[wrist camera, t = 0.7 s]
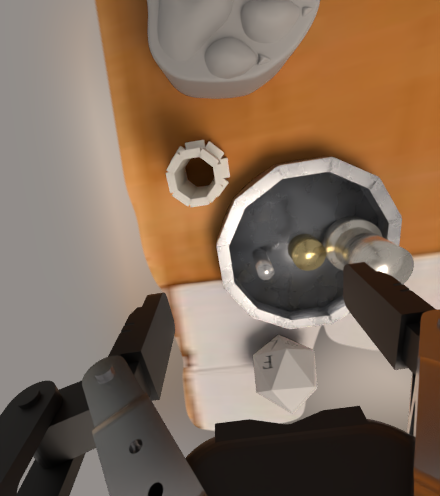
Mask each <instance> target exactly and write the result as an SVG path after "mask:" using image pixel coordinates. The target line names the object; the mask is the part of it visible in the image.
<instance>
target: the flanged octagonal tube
mask: <svg viewBox="0 0 440 496" xmlns="http://www.w3.org/2000/svg"><path fill="white" fill-rule="evenodd" d="M185 146H186V149H185V148H184V147H183V146H180V147H179V149H178V150H177V152H176V154H175V155H174V157H173V158H172V160H171V162H170V165H169V166H168V168H167V171H168V172H167V173H166V177H167V181H168V186H169V190H170V193H173V192H174V193H173V195H172V196H173V197H175V198H176V199H178V200H179V201H181V202H182V203H183V204H185V205H186V206H189V204H190V206H191V207H196V206H202V205H209V204H210V202H211V203H212V202H213V201H214V199H215V198H216V196H217V197H219V195H220V194H221V193H222V191H223V190H224V188H225V187H226V186H227V184H228V183H229V182H228V180H226V179H225V178H228V177H230V173H229V166H228V159H227V158H222V159H221V157H222V156H223V155H224V152H222V151H221V150H220V149H219V148H217V147H216V146H215V145H213V144H212V143H211V142H210V141H209V142H208V144H207V145H206V147H205V141H204V140H199V141H193V142H187V143H185ZM196 157H200V158H201V159H203V160H204V161H205V162H207V163H208V164H209V165H211V166H212V167H213V171H214V177H215V178H214V179H213V181H212V182H211V183H210V185H207V186H201V187H197V186H196V185H194V184H193V183H191V182H190V181H189V180H188V179H187V174H186V169H185V167H186V165H187V164H188V162H189V161H190V159H191V158H196Z"/></svg>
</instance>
